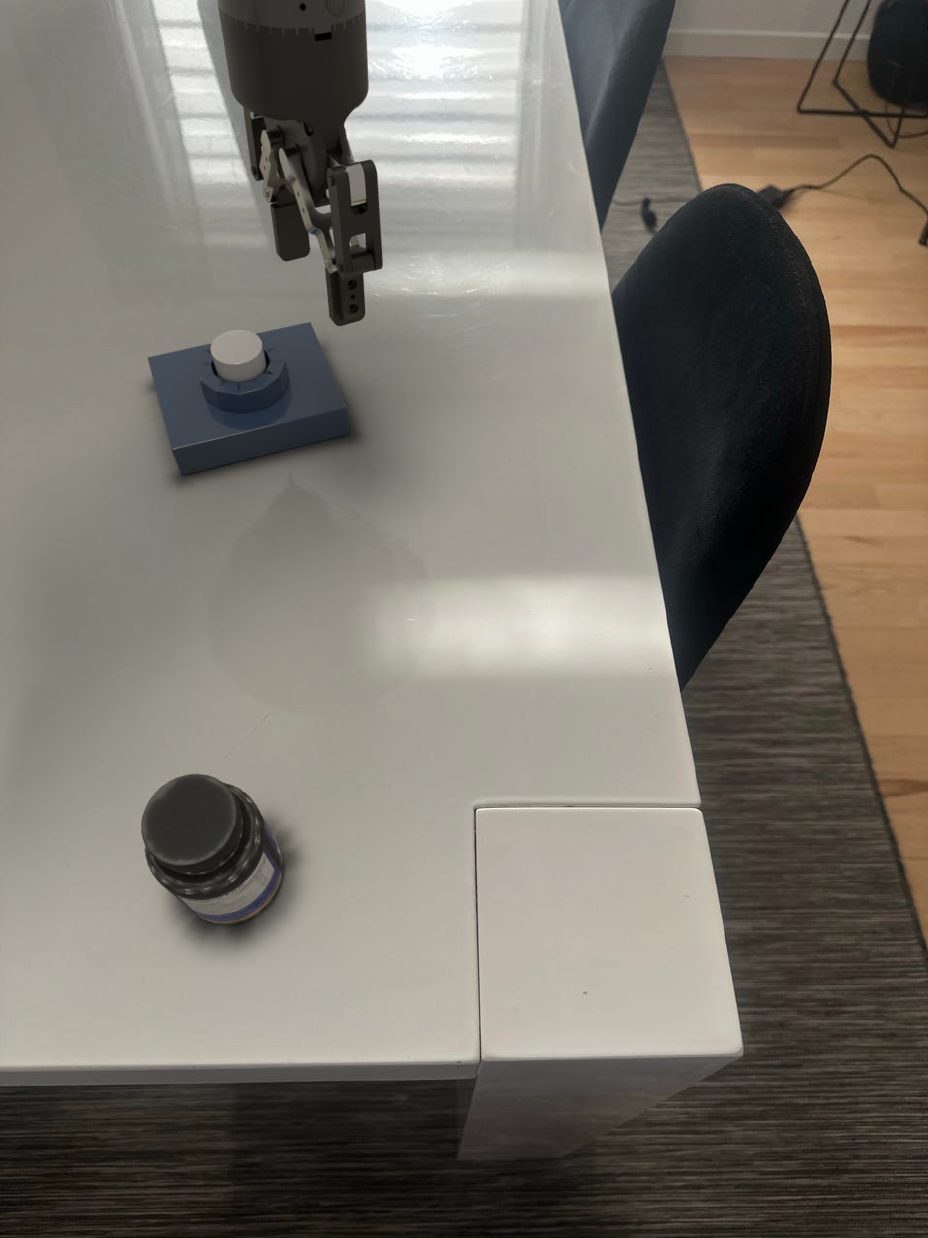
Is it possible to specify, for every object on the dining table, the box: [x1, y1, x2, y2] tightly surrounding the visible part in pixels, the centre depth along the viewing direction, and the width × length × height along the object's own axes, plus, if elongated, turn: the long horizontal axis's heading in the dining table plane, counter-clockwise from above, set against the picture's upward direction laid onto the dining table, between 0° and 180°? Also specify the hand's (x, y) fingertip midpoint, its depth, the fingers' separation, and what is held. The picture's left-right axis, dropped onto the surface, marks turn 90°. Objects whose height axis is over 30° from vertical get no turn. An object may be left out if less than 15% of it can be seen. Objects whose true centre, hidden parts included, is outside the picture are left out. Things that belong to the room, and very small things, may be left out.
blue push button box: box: [147, 321, 350, 476], centre depth 69 cm, size 14×11×5 cm
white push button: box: [210, 329, 267, 383], centre depth 66 cm, size 4×4×2 cm
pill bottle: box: [140, 773, 284, 926], centre depth 46 cm, size 6×6×11 cm
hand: (320, 287), depth 55 cm, fingers open, 8 cm apart
